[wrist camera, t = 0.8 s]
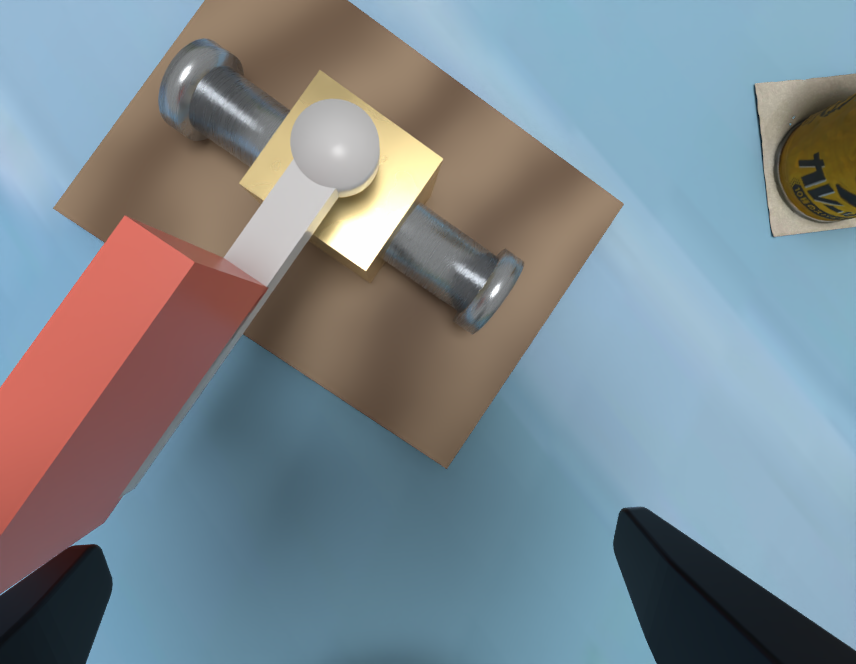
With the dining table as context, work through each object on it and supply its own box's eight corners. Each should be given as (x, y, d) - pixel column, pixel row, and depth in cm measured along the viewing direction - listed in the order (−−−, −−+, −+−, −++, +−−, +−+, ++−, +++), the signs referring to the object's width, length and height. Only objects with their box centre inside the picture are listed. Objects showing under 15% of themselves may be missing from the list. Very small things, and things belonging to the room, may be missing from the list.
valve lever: (327, 99, 16) (286, -63, 10) (395, 147, 17) (402, 23, 10) (60, 476, 16) (-187, 588, 9) (134, 522, 16) (-53, 665, 9)
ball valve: (516, 257, 24) (564, 231, 17) (458, 343, 24) (484, 349, 17) (242, 62, 23) (186, -43, 16) (178, 151, 22) (95, 81, 16)
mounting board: (610, 211, 26) (623, 204, 24) (443, 460, 25) (446, 468, 24) (262, -44, 24) (254, -69, 23) (74, 216, 23) (53, 208, 22)
